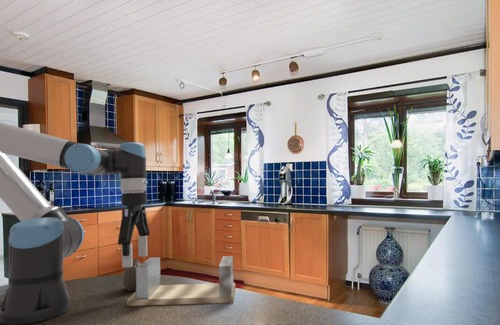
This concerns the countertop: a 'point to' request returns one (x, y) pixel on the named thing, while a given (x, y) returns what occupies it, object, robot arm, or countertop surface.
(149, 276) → the block
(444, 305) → the countertop surface
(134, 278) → the vase
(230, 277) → the vise
